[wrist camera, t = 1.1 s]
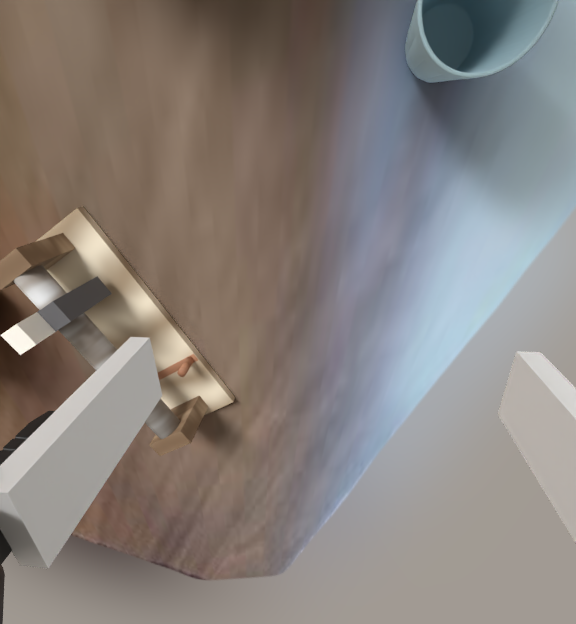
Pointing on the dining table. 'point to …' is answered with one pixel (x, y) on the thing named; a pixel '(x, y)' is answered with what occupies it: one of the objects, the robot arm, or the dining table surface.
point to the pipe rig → (118, 321)
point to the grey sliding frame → (55, 315)
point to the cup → (472, 36)
